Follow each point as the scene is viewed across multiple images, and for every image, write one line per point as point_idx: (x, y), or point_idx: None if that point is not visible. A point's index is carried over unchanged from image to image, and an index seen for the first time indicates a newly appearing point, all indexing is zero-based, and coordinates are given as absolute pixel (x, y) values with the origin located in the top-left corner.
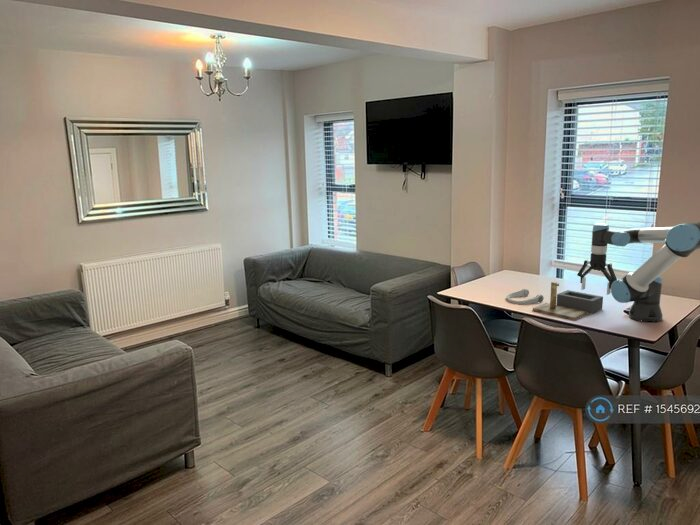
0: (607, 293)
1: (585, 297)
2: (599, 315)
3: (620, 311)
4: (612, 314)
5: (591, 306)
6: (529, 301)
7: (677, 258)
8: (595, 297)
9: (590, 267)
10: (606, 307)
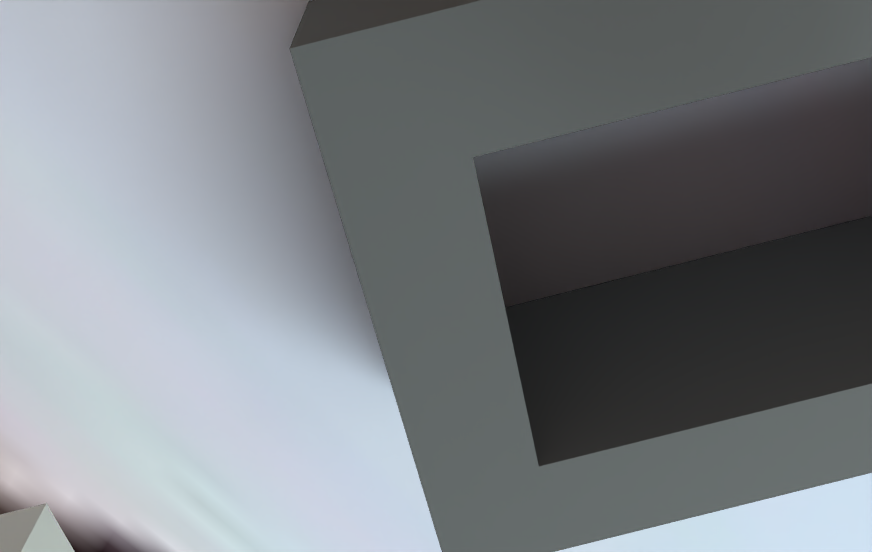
0: (2, 542)
1: (772, 359)
2: (151, 46)
3: (177, 524)
4: (97, 307)
5: (322, 16)
6: None
7: None
8: (510, 407)
9: None
10: None
